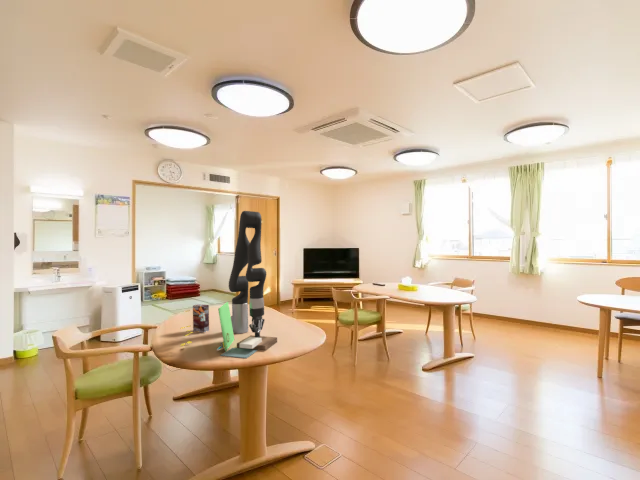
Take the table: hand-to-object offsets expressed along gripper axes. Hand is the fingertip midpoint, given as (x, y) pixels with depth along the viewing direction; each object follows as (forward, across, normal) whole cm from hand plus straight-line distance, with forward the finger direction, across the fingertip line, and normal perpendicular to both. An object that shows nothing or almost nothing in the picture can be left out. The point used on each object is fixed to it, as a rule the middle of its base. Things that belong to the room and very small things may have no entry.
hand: (257, 339), depth 172 cm
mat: (+3, +13, -3) cm, 13 cm away
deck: (+3, 0, 0) cm, 3 cm away
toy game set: (+3, +8, -25) cm, 27 cm away
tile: (+1, +7, 0) cm, 7 cm away
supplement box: (+3, -16, -46) cm, 49 cm away
